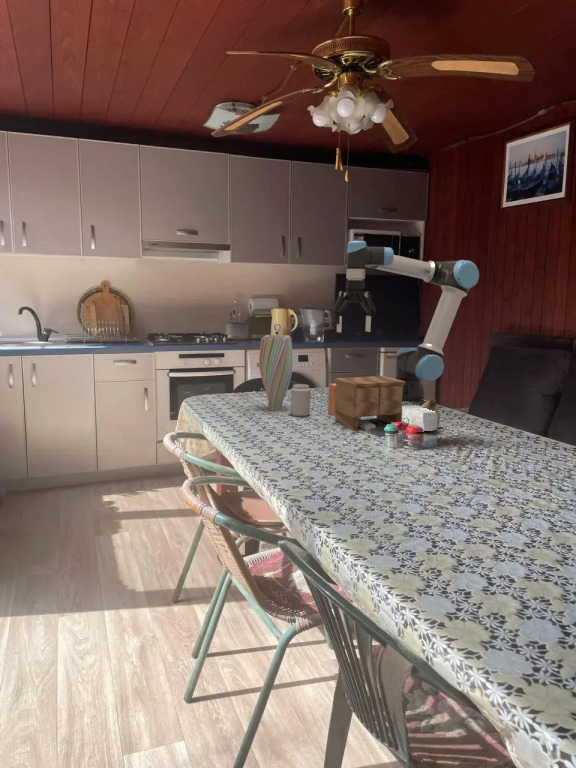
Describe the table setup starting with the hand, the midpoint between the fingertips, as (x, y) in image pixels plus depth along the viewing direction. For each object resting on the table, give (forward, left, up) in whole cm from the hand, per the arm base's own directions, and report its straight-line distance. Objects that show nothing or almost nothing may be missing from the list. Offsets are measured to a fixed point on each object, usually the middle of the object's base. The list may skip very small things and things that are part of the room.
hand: (353, 331), depth 243 cm
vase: (+32, -6, -32) cm, 46 cm away
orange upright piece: (+13, +23, -32) cm, 41 cm away
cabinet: (+9, +30, -32) cm, 44 cm away
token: (+12, +45, -32) cm, 56 cm away
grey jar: (+27, +8, -32) cm, 43 cm away
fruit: (-5, +46, -32) cm, 56 cm away
